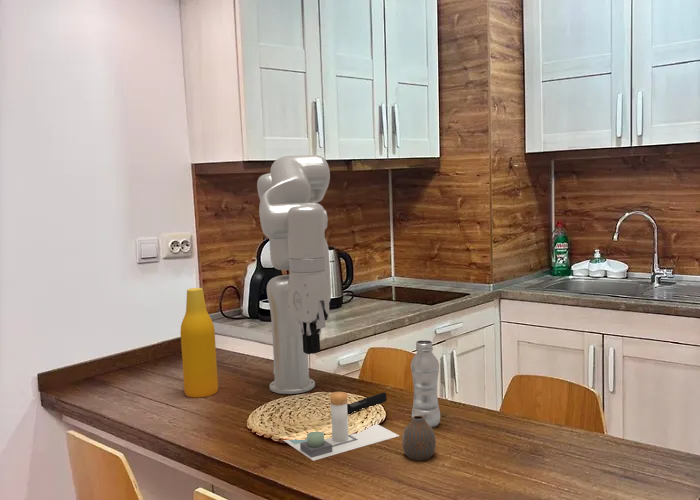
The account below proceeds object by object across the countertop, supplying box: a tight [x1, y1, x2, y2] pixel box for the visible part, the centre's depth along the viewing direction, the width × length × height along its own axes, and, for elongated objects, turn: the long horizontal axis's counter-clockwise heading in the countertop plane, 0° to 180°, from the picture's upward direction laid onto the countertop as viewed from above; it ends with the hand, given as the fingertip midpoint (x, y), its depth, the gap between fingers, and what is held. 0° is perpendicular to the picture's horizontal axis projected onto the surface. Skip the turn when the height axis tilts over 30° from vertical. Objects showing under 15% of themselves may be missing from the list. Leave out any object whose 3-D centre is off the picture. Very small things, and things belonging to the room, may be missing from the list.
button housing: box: [300, 440, 332, 457], centre depth 150 cm, size 5×5×2 cm
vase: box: [401, 415, 437, 461], centre depth 145 cm, size 7×7×9 cm
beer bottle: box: [179, 287, 219, 399], centre depth 193 cm, size 9×9×29 cm
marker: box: [329, 391, 349, 442], centre depth 155 cm, size 4×4×10 cm
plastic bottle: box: [410, 339, 441, 429], centre depth 162 cm, size 6×7×20 cm
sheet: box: [282, 423, 400, 462], centre depth 158 cm, size 16×22×1 cm
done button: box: [307, 431, 324, 447], centre depth 150 cm, size 4×4×2 cm
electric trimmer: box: [347, 392, 387, 415], centre depth 176 cm, size 4×15×3 cm, turn 133°
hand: (311, 352), depth 147 cm, fingers closed
